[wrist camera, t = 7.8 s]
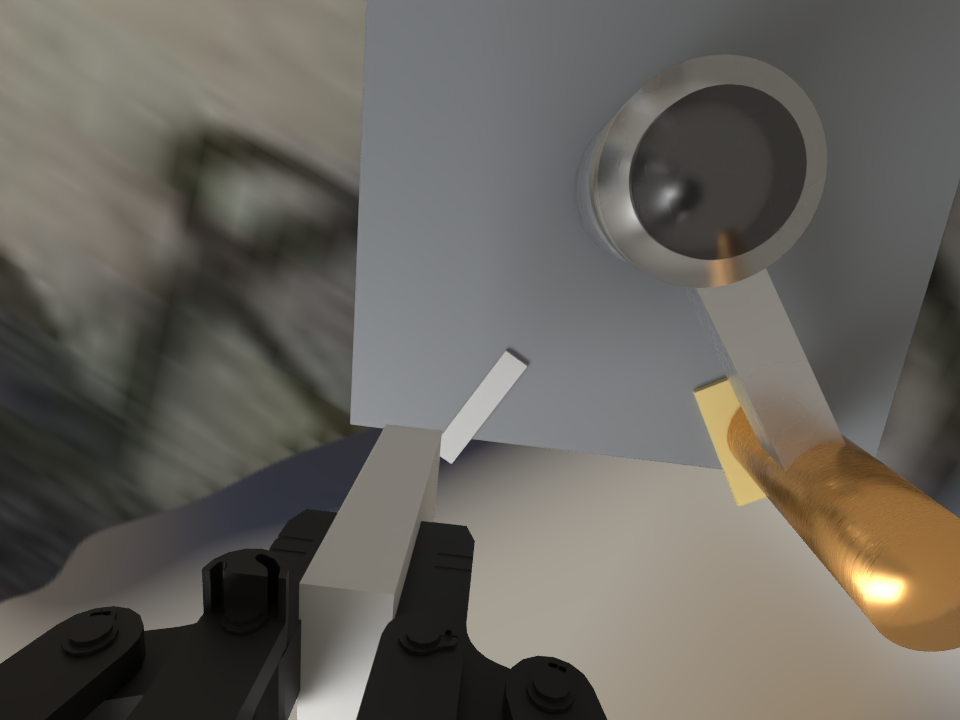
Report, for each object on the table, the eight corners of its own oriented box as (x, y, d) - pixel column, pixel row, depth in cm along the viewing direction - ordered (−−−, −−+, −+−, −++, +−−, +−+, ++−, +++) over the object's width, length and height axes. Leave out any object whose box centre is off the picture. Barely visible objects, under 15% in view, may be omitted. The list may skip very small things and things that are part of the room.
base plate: (362, 435, 25) (346, 457, 23) (389, -146, 19) (371, -192, 17) (830, 492, 24) (861, 521, 22) (1001, -103, 18) (1066, -146, 16)
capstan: (548, 158, 19) (566, 116, 10) (685, 76, 18) (836, -47, 10) (719, 491, 22) (850, 685, 13) (847, 434, 21) (1085, 603, 12)
